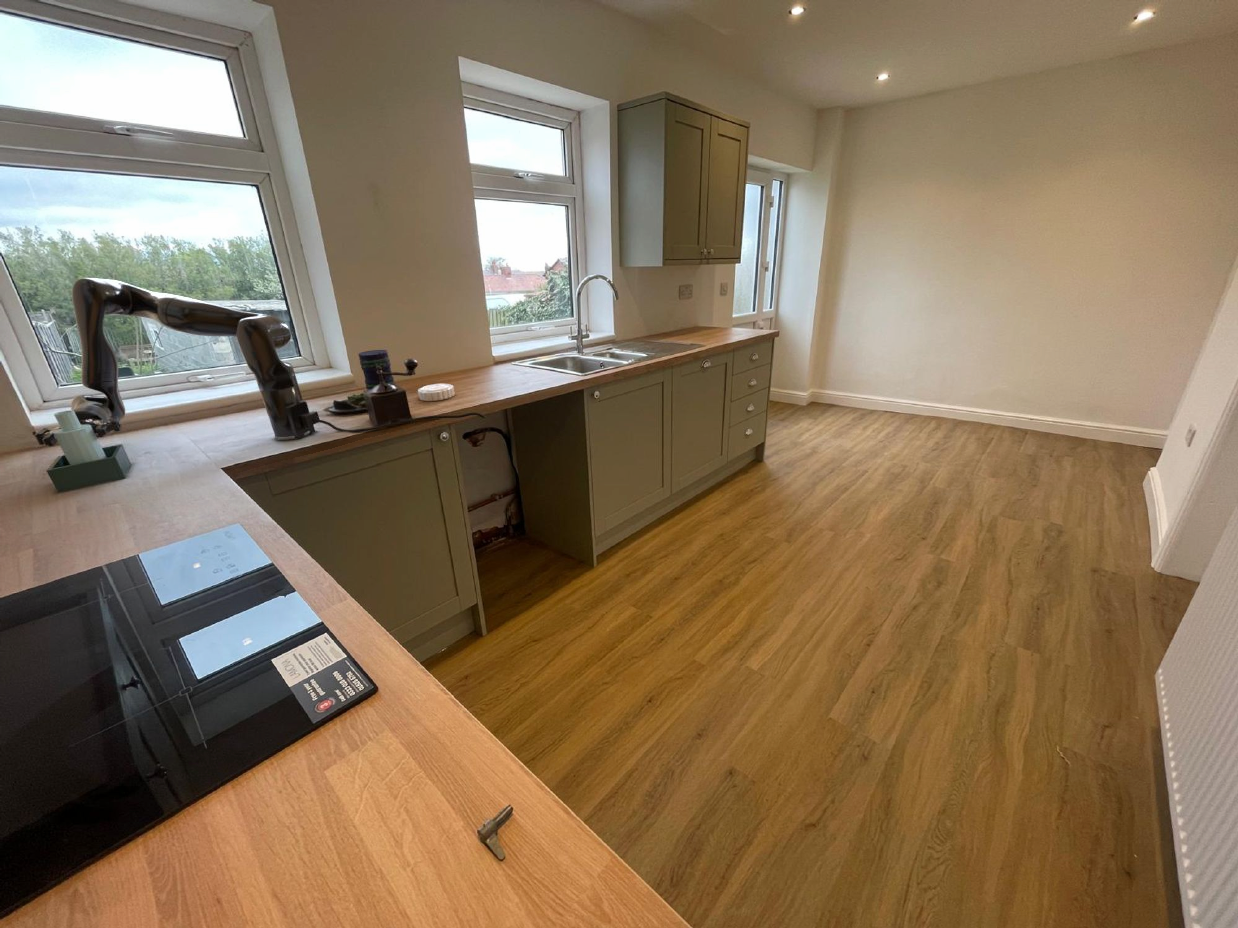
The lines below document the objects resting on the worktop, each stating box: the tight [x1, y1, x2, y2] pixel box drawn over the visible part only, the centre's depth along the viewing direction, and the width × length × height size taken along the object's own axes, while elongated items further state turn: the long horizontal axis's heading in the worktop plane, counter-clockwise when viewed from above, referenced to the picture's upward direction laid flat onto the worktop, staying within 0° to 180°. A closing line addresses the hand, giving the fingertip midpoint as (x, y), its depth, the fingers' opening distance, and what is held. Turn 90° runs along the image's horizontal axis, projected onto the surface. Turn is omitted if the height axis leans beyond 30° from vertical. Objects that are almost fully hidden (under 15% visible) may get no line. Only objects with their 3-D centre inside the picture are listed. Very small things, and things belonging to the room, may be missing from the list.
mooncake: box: [417, 382, 455, 402], centre depth 176 cm, size 12×12×4 cm
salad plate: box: [322, 392, 368, 417], centre depth 168 cm, size 19×18×5 cm
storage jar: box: [357, 349, 396, 390], centre depth 183 cm, size 10×10×15 cm
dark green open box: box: [45, 443, 132, 493], centre depth 121 cm, size 12×12×6 cm
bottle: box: [53, 409, 107, 465], centre depth 118 cm, size 6×6×16 cm
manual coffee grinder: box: [362, 358, 419, 427], centre depth 152 cm, size 16×11×18 cm
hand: (74, 437), depth 116 cm, fingers open, 8 cm apart
